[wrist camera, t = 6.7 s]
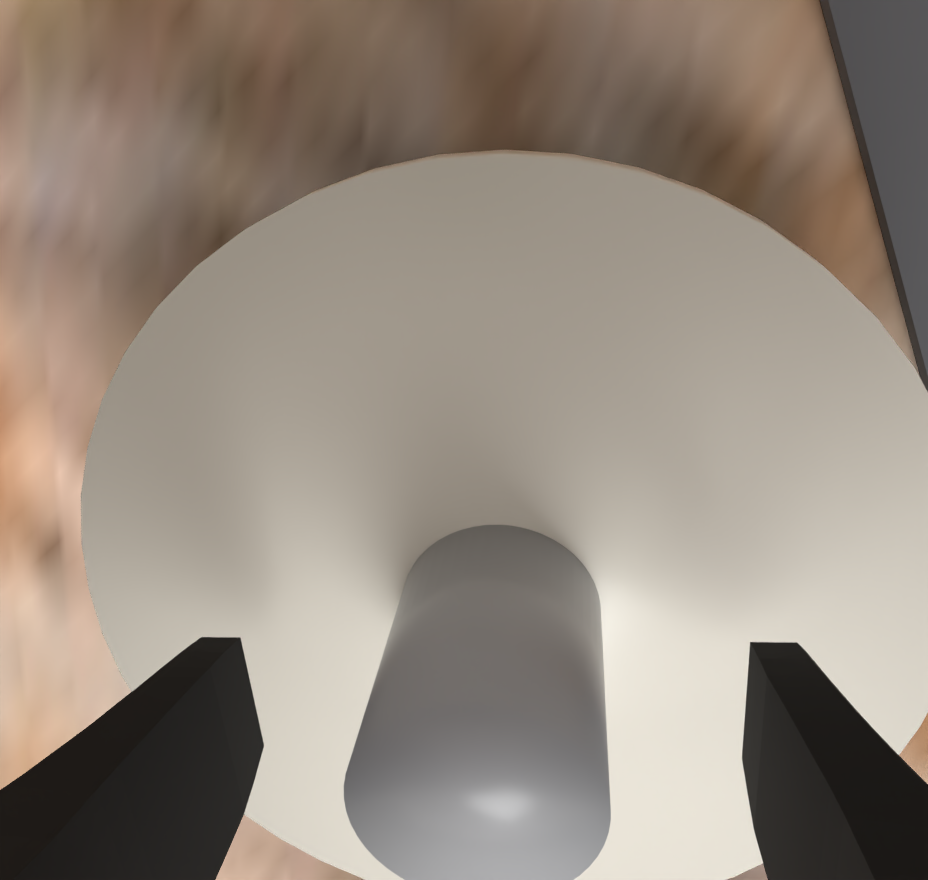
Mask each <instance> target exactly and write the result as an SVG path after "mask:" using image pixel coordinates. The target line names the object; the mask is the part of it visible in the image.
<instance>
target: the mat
mask: <svg viewBox="0 0 928 880" xmlns="http://www.w3.org/2000/svg"><path fill="white" fill-rule="evenodd" d="M820 3H821V7H822V11H823V14H824V18H825V22H826V25H827V29H828V33H829V37H830V40H831V44H832V48H833V52H834V55H835V59H836V63H837V67H838V70H839V74H840V78H841V82H842V85H843V89H844V93H845V97H846V100H847V104H848V108H849V111H850V115H851V119H852V123H853V126H854V130H855V134H856V138H857V141H858V145H859V149H860V153H861V156H862V160H863V164H864V168H865V171H866V175H867V179H868V183H869V186H870V190H871V194H872V198H873V201H874V205H875V209H876V212H877V216H878V220H879V224H880V227H881V231H882V235H883V239H884V242H885V246H886V250H887V254H888V257H889V261H890V265H891V269H892V272H893V276H894V280H895V284H896V287H897V291H898V295H899V298H900V302H901V306H902V310H903V313H904V317H905V321H906V325H907V328H908V332H909V336H910V340H911V343H912V347H913V351H914V355H915V358H916V362H917V366H918V370H919V373H920V377H921V380H922V382H923V384H924V386H925V388H926V390H927V392H928V0H820Z"/></svg>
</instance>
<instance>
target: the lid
mask: <svg viewBox="0 0 928 880" xmlns="http://www.w3.org/2000/svg"><path fill="white" fill-rule="evenodd" d="M81 535H82V549H83V555H84V561H85V568H86V574H87V580H88V586H89V591H90V594H91V598H92V601H93V604H94V607H95V611H96V614H97V617H98V621H99V624H100V627H101V630H102V634H103V636H104V638H105V640H106V642H107V645H108V647H109V649H110V651H111V653H112V656H113V658H114V660H115V662H116V664H117V667H118V669H119V671H120V673H121V675H122V677H123V679H124V680H125V682H126V684H127V685H128V687H129V688H130V690H131V692H132V691H133V690H135V689H136V688H137V687H138V686H140V685H141V684H142V683H143V682H145V681H146V680H147V679H148V678H149V677H151V676H152V675H153V674H154V673H156V672H157V671H158V670H159V669H161V668H162V667H163V666H164V665H165V664H167V663H168V662H169V661H170V660H172V659H173V658H174V657H175V656H177V655H178V654H179V653H180V652H182V651H183V650H184V649H186V648H187V647H188V646H190V645H191V644H192V643H194V642H195V641H196V640H198V639H199V638H201V637H240V638H241V642H242V647H243V651H244V656H245V660H246V665H247V669H248V674H249V679H250V683H251V688H252V692H253V697H254V701H255V706H256V711H257V715H258V720H259V724H260V729H261V733H262V738H263V742H264V748H263V752H262V755H261V759H260V762H259V766H258V769H257V773H256V777H255V780H254V784H253V787H252V790H251V793H250V796H249V800H248V803H247V806H246V809H245V812H244V815H246V816H247V817H249V818H250V819H251V820H253V821H254V822H256V823H257V824H259V825H260V826H262V827H263V828H265V829H266V830H268V831H269V832H271V833H272V834H274V835H275V836H277V837H278V838H280V839H282V840H283V841H285V842H287V843H289V844H291V845H293V846H294V847H296V848H298V849H300V850H302V851H304V852H306V853H307V854H309V855H311V856H313V857H315V858H317V859H319V860H320V861H323V862H325V863H327V864H330V865H332V866H334V867H337V868H339V869H341V870H344V871H346V872H348V873H351V874H353V875H355V876H358V877H360V878H362V879H365V880H727V879H730V878H732V877H735V876H737V875H739V874H741V873H744V872H746V871H748V870H750V869H752V868H754V867H756V866H758V865H761V864H763V860H762V857H761V853H760V850H759V846H758V843H757V839H756V836H755V832H754V827H753V822H752V816H751V810H750V805H749V799H748V793H747V787H746V781H745V775H744V769H743V762H742V749H743V735H744V721H745V707H746V693H747V679H748V665H749V651H750V642H797V643H798V644H799V645H800V646H801V647H802V648H803V649H804V650H805V651H806V652H807V653H808V654H809V655H810V657H811V658H812V659H813V660H814V661H815V663H816V664H817V665H818V666H819V667H820V668H821V670H822V671H823V672H824V673H825V674H826V676H827V677H828V678H829V679H830V680H831V681H832V683H833V684H834V685H835V686H836V687H837V688H838V690H839V691H840V692H841V693H842V694H843V695H844V696H845V698H846V699H847V700H848V701H849V702H850V703H851V704H852V706H853V707H854V708H855V709H856V710H857V711H858V712H859V713H860V715H861V716H862V717H863V718H864V719H865V720H866V721H867V722H868V723H869V724H870V726H871V727H872V728H873V729H874V730H875V731H876V732H877V733H878V734H879V735H880V736H881V737H882V738H883V739H884V740H885V741H886V742H887V743H888V745H889V746H890V747H891V748H892V749H893V750H894V751H895V752H896V753H897V754H898V755H899V754H900V753H901V752H902V750H903V749H904V748H905V746H906V745H907V744H908V742H909V741H910V739H911V738H912V737H913V735H914V734H915V733H916V731H917V730H918V729H919V727H920V726H921V724H922V722H923V720H924V718H925V716H926V714H927V713H928V392H927V390H926V388H925V386H924V384H923V382H922V380H921V379H920V377H919V375H918V373H917V371H916V369H915V368H914V366H913V365H912V364H911V362H910V361H909V360H908V358H907V357H906V356H905V354H904V353H903V352H902V350H901V349H900V348H899V346H898V345H897V344H896V342H895V341H894V340H893V338H892V337H891V336H890V334H889V333H888V332H887V330H886V329H885V328H884V326H883V325H882V324H881V322H880V321H879V320H878V318H877V317H876V316H875V315H874V314H873V313H872V312H871V311H870V310H868V309H867V308H866V307H865V306H864V305H863V304H862V303H861V302H860V301H859V300H858V299H857V298H856V297H855V296H854V295H853V294H852V293H851V292H850V291H849V290H848V289H847V288H846V287H845V286H844V285H843V284H842V283H841V282H840V281H839V280H838V279H837V278H836V277H835V276H833V275H832V274H831V273H830V272H829V271H828V270H827V269H826V268H825V267H824V266H823V265H821V264H820V263H819V262H818V261H817V260H816V259H815V258H813V257H812V256H811V255H809V254H808V253H807V252H805V251H804V250H802V249H801V248H800V247H798V246H797V245H795V244H794V243H793V242H791V241H790V240H788V239H787V238H786V237H784V236H783V235H781V234H780V233H779V232H777V231H776V230H774V229H773V228H772V227H770V226H769V225H767V224H766V223H765V222H763V221H762V220H760V219H758V218H756V217H754V216H752V215H751V214H749V213H747V212H745V211H743V210H741V209H739V208H737V207H735V206H733V205H731V204H729V203H727V202H725V201H723V200H722V199H720V198H718V197H716V196H714V195H712V194H710V193H708V192H706V191H704V190H702V189H699V188H697V187H694V186H691V185H688V184H685V183H682V182H679V181H677V180H674V179H671V178H668V177H665V176H662V175H659V174H657V173H654V172H651V171H648V170H645V169H642V168H640V167H635V166H630V165H625V164H620V163H615V162H610V161H606V160H601V159H596V158H591V157H586V156H581V155H576V154H568V153H552V152H536V151H520V150H491V151H478V152H465V153H452V154H438V155H434V156H429V157H424V158H420V159H415V160H411V161H406V162H401V163H397V164H392V165H388V166H383V167H378V168H374V169H371V170H369V171H366V172H363V173H361V174H358V175H355V176H353V177H350V178H347V179H345V180H342V181H339V182H336V183H334V184H331V185H328V186H326V187H323V188H320V189H318V190H315V191H313V192H312V193H310V194H308V195H306V196H304V197H302V198H301V199H299V200H297V201H295V202H293V203H291V204H290V205H288V206H286V207H284V208H282V209H280V210H279V211H277V212H275V213H273V214H271V215H270V216H268V217H266V218H264V219H262V220H260V221H259V222H257V223H255V224H253V225H252V226H250V227H248V228H246V229H245V230H243V231H242V232H241V233H239V234H238V235H237V236H235V237H234V238H233V239H231V240H230V241H229V242H227V243H226V244H225V245H223V246H222V247H221V248H219V249H218V250H217V251H216V252H214V253H213V254H212V255H210V256H209V257H208V258H206V259H205V260H204V261H202V262H201V263H200V264H198V265H197V266H196V267H195V268H194V269H193V270H192V271H191V272H190V273H189V274H188V275H187V276H186V277H185V278H184V279H183V280H182V281H181V282H180V284H179V285H178V286H177V287H176V288H175V289H174V290H173V291H172V292H171V293H170V294H169V295H168V296H167V297H166V298H165V299H164V300H163V301H162V302H161V303H160V304H159V305H158V306H157V307H156V309H155V310H154V312H153V313H152V314H151V316H150V317H149V319H148V320H147V322H146V323H145V324H144V326H143V327H142V329H141V330H140V332H139V333H138V334H137V336H136V337H135V339H134V340H133V342H132V343H131V344H130V346H129V347H128V349H127V350H126V352H125V353H124V355H123V358H122V360H121V362H120V364H119V366H118V368H117V370H116V372H115V374H114V376H113V378H112V380H111V382H110V384H109V386H108V388H107V390H106V393H105V395H104V397H103V399H102V402H101V405H100V408H99V412H98V415H97V418H96V422H95V425H94V428H93V431H92V435H91V438H90V441H89V445H88V449H87V456H86V463H85V470H84V477H83V485H82V492H81Z"/></svg>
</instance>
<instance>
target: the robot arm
mask: <svg viewBox="0 0 928 880" xmlns="http://www.w3.org/2000/svg"><path fill="white" fill-rule="evenodd" d="M263 748H264V742H263V738H262V733H261V729H260V724H259V720H258V715H257V711H256V706H255V701H254V697H253V692H252V688H251V683H250V679H249V674H248V669H247V665H246V660H245V656H244V651H243V647H242V642H241V638H240V637H201V638H199V639H198V640H196V641H195V642H194V643H192V644H191V645H190V646H188V647H187V648H186V649H184V650H183V651H182V652H180V653H179V654H178V655H177V656H175V657H174V658H173V659H172V660H170V661H169V662H168V663H167V664H165V665H164V666H163V667H162V668H161V669H159V670H158V671H157V672H156V673H154V674H153V675H152V676H151V677H149V678H148V679H147V680H146V681H145V682H143V683H142V684H141V685H140V686H138V687H137V688H136V689H135V690H133V691H132V692H131V693H130V694H128V695H127V696H126V697H125V698H123V699H122V700H121V701H120V702H118V703H117V704H116V705H115V706H113V707H112V708H111V709H110V710H108V711H107V712H106V713H105V714H103V715H102V716H101V717H100V718H98V719H97V720H96V721H95V722H93V723H92V724H91V725H89V726H88V727H87V728H86V729H84V730H83V731H82V732H80V733H79V734H77V735H76V736H75V737H73V738H72V739H71V740H69V741H68V742H67V743H65V744H64V745H62V746H61V747H60V748H58V749H57V750H56V751H54V752H53V753H52V754H50V755H49V756H48V757H46V758H45V759H43V760H42V761H41V762H39V763H38V764H37V765H35V766H34V767H33V768H31V769H30V770H29V771H27V772H26V773H24V774H23V775H22V776H20V777H19V778H17V779H16V780H14V781H13V782H11V783H10V784H9V785H7V786H6V787H4V788H3V789H1V790H0V880H215V879H216V877H217V875H218V872H219V870H220V868H221V866H222V863H223V861H224V859H225V856H226V854H227V852H228V850H229V847H230V845H231V843H232V840H233V838H234V836H235V833H236V831H237V829H238V827H239V824H240V822H241V819H242V817H243V815H244V812H245V809H246V806H247V803H248V800H249V796H250V793H251V790H252V787H253V784H254V780H255V777H256V773H257V769H258V766H259V762H260V759H261V755H262V752H263ZM742 762H743V769H744V775H745V781H746V787H747V793H748V799H749V805H750V810H751V816H752V822H753V827H754V832H755V836H756V839H757V843H758V846H759V850H760V853H761V857H762V860H763V864H764V867H765V871H766V874H767V878H768V880H928V784H927V783H926V782H925V781H924V780H923V779H922V778H921V777H920V776H919V775H918V774H917V773H916V772H915V771H914V770H913V769H912V768H911V767H910V766H909V765H908V764H907V763H906V762H905V761H904V760H903V759H902V758H901V757H900V756H899V755H898V754H897V753H896V752H895V751H894V750H893V749H892V748H891V747H890V746H889V745H888V743H887V742H886V741H885V740H884V739H883V738H882V737H881V736H880V735H879V734H878V733H877V732H876V731H875V730H874V729H873V728H872V727H871V726H870V724H869V723H868V722H867V721H866V720H865V719H864V718H863V717H862V716H861V715H860V713H859V712H858V711H857V710H856V709H855V708H854V707H853V706H852V704H851V703H850V702H849V701H848V700H847V699H846V698H845V696H844V695H843V694H842V693H841V692H840V691H839V690H838V688H837V687H836V686H835V685H834V684H833V683H832V681H831V680H830V679H829V678H828V677H827V676H826V674H825V673H824V672H823V671H822V670H821V668H820V667H819V666H818V665H817V664H816V663H815V661H814V660H813V659H812V658H811V657H810V655H809V654H808V653H807V652H806V651H805V650H804V649H803V648H802V647H801V646H800V645H799V644H798V643H797V642H750V651H749V665H748V679H747V693H746V707H745V721H744V735H743V749H742Z"/></svg>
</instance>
